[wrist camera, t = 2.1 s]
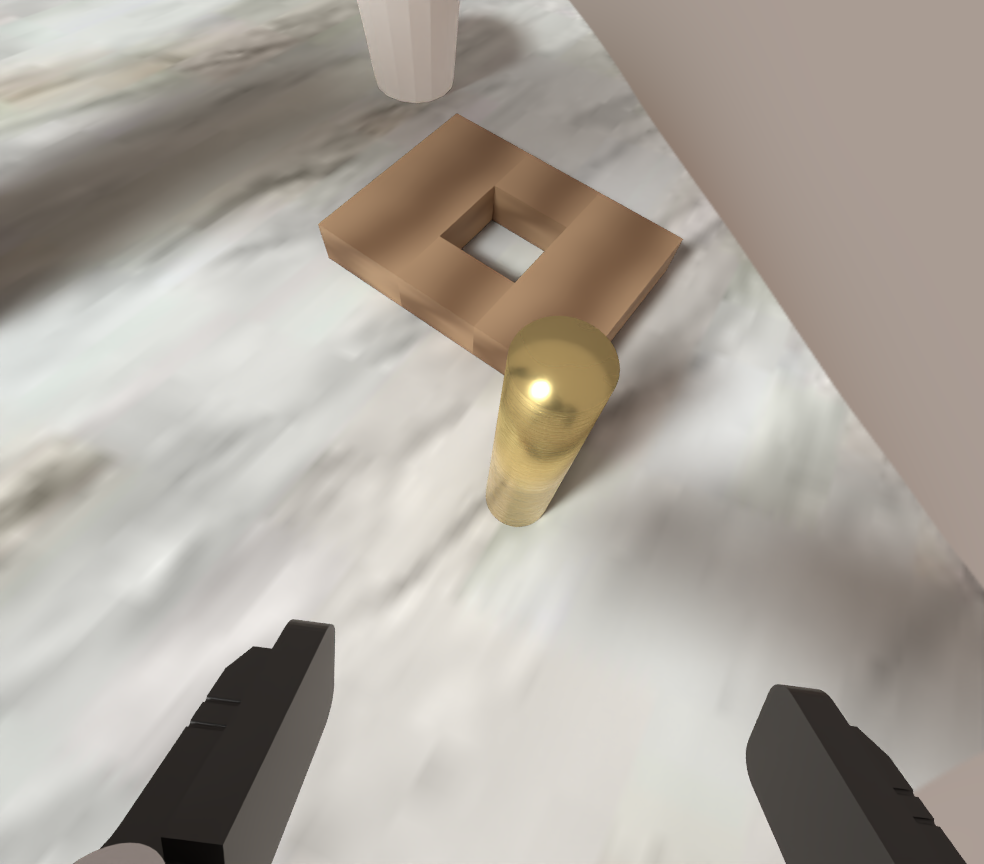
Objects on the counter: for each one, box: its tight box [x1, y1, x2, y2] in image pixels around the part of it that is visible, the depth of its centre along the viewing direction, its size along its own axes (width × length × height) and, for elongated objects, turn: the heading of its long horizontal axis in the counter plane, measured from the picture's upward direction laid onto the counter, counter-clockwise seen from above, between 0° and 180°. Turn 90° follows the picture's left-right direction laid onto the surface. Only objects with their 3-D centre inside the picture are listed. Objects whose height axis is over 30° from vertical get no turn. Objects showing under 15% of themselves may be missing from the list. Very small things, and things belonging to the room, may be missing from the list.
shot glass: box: [357, 0, 460, 103], centre depth 34 cm, size 7×7×7 cm
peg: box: [486, 316, 620, 527], centre depth 19 cm, size 3×3×12 cm
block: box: [318, 114, 683, 375], centre depth 29 cm, size 16×12×2 cm
